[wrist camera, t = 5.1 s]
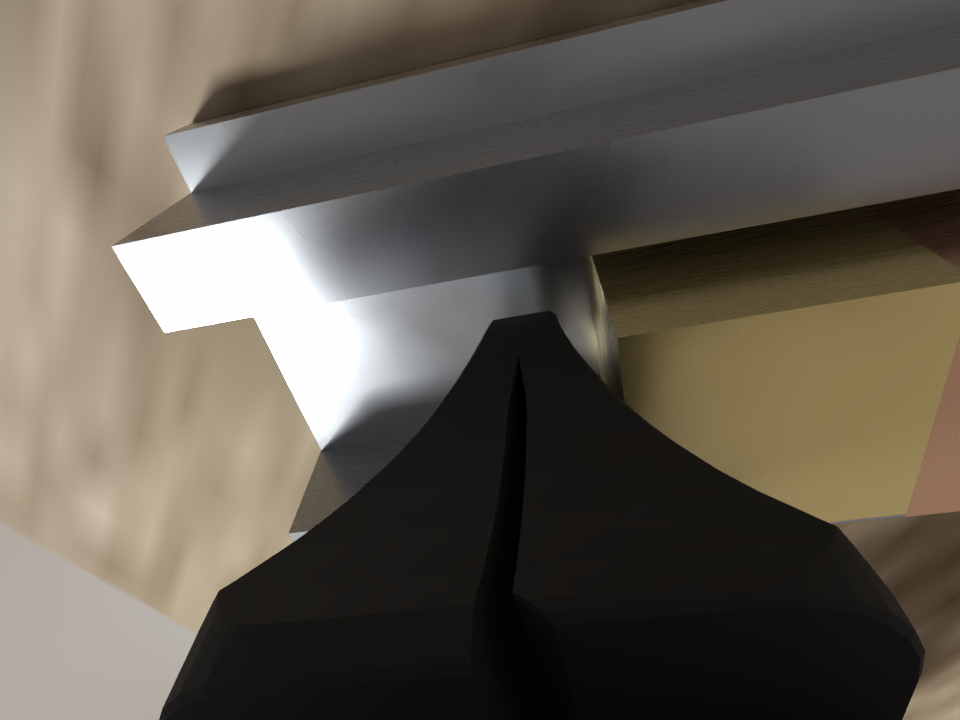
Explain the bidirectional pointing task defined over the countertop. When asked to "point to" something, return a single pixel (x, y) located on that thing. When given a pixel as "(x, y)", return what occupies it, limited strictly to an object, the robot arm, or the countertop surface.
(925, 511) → the copper block
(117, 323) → the countertop surface
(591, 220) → the rail
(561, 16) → the countertop surface
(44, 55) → the countertop surface
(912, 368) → the brass block
